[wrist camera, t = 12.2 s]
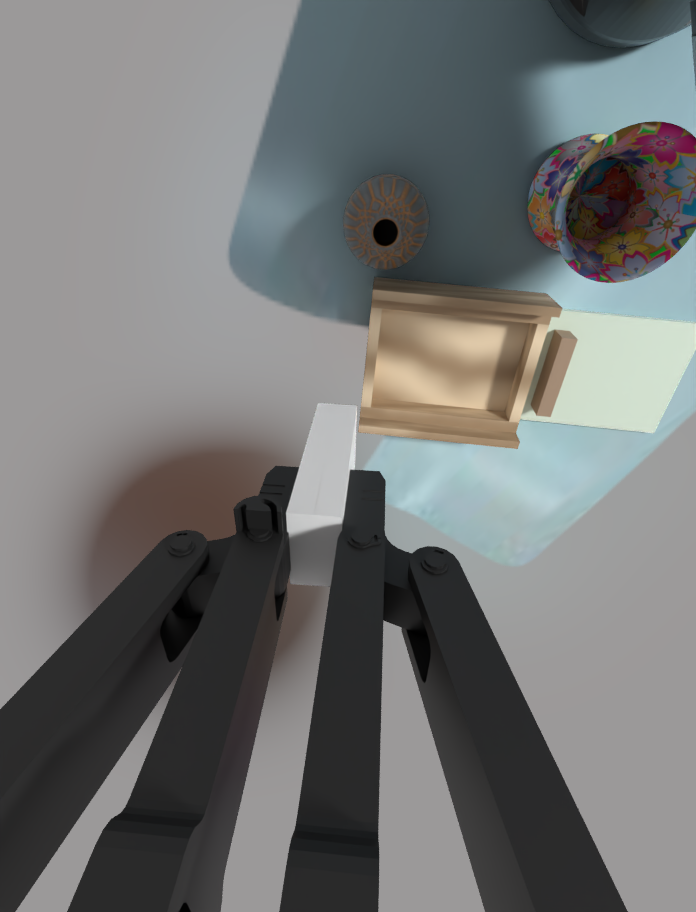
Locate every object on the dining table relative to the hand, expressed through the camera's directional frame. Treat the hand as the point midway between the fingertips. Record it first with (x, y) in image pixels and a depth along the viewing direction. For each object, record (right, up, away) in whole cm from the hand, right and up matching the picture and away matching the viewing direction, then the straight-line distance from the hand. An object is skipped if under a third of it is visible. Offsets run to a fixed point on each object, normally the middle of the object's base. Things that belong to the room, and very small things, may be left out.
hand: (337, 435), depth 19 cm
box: (+10, +9, +29) cm, 32 cm away
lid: (+26, +8, +30) cm, 40 cm away
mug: (+21, +21, +21) cm, 36 cm away
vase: (+4, +20, +23) cm, 31 cm away
